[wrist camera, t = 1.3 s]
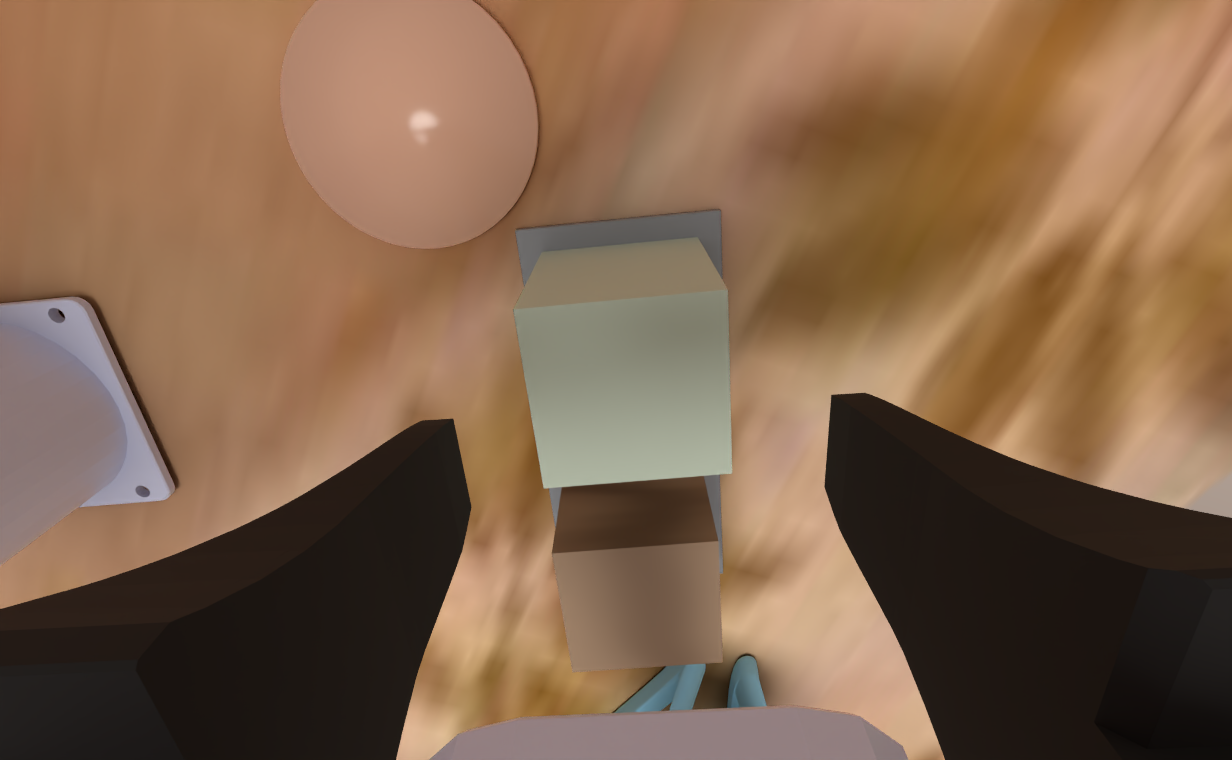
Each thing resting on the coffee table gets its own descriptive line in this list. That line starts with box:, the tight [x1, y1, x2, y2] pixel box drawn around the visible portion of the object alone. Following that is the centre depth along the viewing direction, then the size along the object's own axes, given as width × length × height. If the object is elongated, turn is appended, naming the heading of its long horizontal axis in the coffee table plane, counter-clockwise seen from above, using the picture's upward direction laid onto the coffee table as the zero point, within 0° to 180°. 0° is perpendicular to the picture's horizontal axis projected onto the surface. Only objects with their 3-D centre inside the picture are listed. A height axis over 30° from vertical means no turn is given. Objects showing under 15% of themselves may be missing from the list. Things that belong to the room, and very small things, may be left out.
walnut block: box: [552, 476, 723, 672], centre depth 22 cm, size 5×5×5 cm
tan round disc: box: [280, 0, 539, 249], centre depth 18 cm, size 8×8×1 cm
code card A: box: [515, 209, 722, 287], centre depth 21 cm, size 6×6×1 cm
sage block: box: [513, 237, 732, 488], centre depth 18 cm, size 5×5×6 cm
